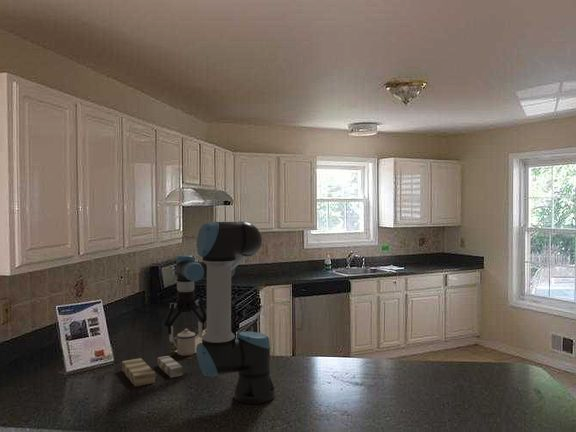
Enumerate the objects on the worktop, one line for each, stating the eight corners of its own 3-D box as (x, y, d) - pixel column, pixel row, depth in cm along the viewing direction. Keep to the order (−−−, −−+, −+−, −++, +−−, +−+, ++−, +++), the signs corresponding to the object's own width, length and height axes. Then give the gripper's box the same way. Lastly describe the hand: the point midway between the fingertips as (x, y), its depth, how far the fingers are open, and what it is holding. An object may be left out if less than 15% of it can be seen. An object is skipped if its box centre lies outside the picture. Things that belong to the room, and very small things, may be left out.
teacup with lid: (199, 351, 227) (199, 327, 227) (188, 356, 218) (188, 332, 218) (179, 348, 231) (179, 325, 231) (167, 354, 223) (167, 329, 223)
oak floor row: (157, 382, 186) (157, 372, 186) (134, 386, 181) (134, 376, 181) (142, 366, 205) (142, 357, 205) (122, 370, 200) (122, 361, 200)
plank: (157, 366, 206) (157, 357, 206) (168, 364, 209) (168, 355, 209) (170, 378, 191) (170, 368, 191) (182, 376, 194) (182, 366, 194)
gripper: (208, 286, 213) (209, 333, 213) (155, 292, 200) (155, 341, 200) (215, 289, 207) (215, 336, 207) (160, 294, 194) (160, 345, 194)
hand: (186, 339), depth 204 cm, fingers open, 12 cm apart
